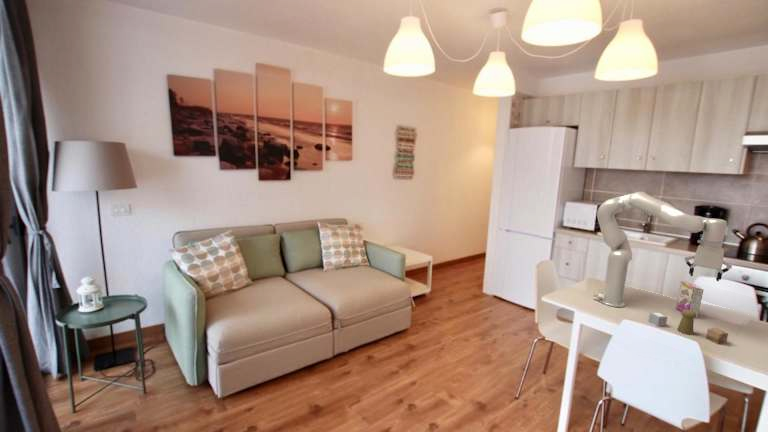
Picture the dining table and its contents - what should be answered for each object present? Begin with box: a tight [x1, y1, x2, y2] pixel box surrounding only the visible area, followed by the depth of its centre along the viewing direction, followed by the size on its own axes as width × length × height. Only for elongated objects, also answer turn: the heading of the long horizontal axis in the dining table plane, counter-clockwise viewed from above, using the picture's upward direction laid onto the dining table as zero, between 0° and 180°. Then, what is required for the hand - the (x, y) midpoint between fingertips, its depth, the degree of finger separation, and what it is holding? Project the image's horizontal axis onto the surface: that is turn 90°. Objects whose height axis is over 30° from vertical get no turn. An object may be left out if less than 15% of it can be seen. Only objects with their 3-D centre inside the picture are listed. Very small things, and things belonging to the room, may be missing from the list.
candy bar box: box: [675, 280, 704, 319], centre depth 192 cm, size 11×5×16 cm, turn 168°
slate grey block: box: [647, 311, 668, 327], centre depth 179 cm, size 5×5×5 cm
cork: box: [676, 310, 696, 336], centre depth 171 cm, size 6×6×11 cm
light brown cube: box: [705, 327, 729, 345], centre depth 164 cm, size 5×5×5 cm
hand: (704, 278), depth 174 cm, fingers open, 9 cm apart
